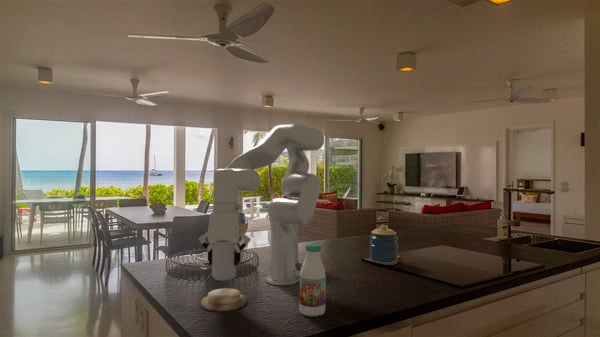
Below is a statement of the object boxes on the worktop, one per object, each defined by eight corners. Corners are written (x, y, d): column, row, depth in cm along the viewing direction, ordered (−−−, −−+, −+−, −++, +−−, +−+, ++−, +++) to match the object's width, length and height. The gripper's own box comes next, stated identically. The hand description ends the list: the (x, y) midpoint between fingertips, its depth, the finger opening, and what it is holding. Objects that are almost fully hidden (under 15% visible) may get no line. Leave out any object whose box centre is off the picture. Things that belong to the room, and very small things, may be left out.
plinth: (250, 296, 123) (250, 287, 123) (241, 312, 109) (241, 301, 109) (208, 294, 124) (208, 285, 124) (194, 310, 110) (194, 300, 110)
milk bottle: (298, 307, 114) (299, 242, 114) (323, 307, 114) (324, 242, 114) (300, 317, 106) (301, 247, 106) (327, 316, 107) (328, 247, 107)
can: (230, 282, 112) (231, 242, 112) (207, 280, 114) (208, 241, 114) (239, 275, 119) (240, 238, 120) (217, 273, 121) (218, 237, 121)
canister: (401, 267, 164) (401, 227, 164) (371, 266, 164) (372, 226, 164) (394, 259, 177) (394, 223, 177) (367, 259, 177) (367, 222, 177)
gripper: (254, 207, 120) (253, 262, 120) (201, 206, 121) (200, 260, 121) (250, 209, 113) (249, 267, 112) (194, 208, 114) (192, 266, 113)
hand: (224, 263), depth 117 cm, fingers closed on can, 7 cm apart
